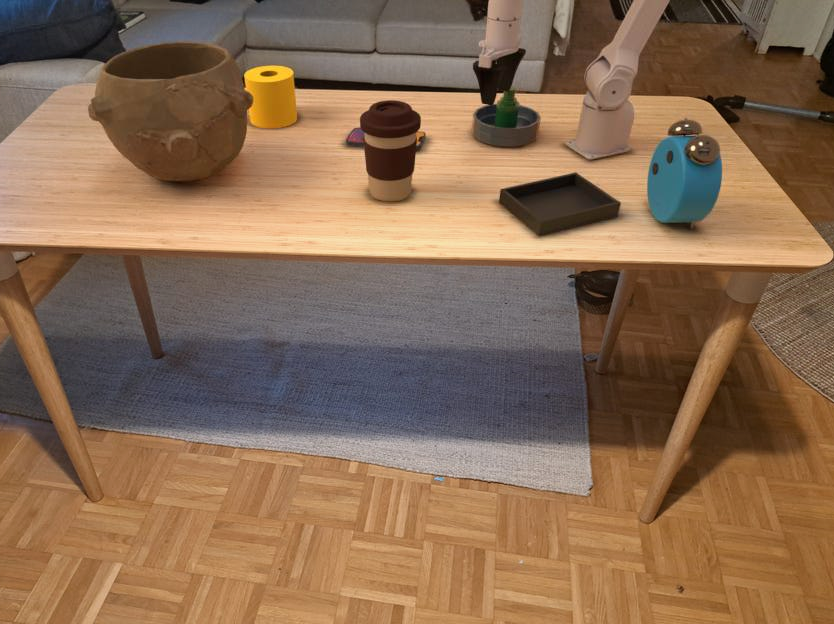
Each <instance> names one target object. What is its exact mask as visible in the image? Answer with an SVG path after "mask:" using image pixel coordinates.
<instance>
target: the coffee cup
mask: <svg viewBox="0 0 834 624" xmlns="http://www.w3.org/2000/svg"><path fill="white" fill-rule="evenodd" d="M421 122H422V117H421V115H420V113H418V111H416V110H413V108H412V106H411V105H410V104H408V103H407V102H405V101H401V100H393V99H389V100H381V101H377V102H375V103H372V104H371V105H370V106H369V108H368V110H366V111H364V112H363V113H362V114H361V115H360V117H359V128H361V130H362V131H363V132H364V136H365V137H364V147H363V149H364V161H365V170H366V173H367V179H368V190H369V194H370V195H371V196H372V197H373V198H374V199H376V200H378V201H383V202H398V201H401V200H404V199H407V197H409V195H410V194H411V192H412V183H413V174H414V172H415V166H416V156H417V150H416V146H417V137H416V132H417V131H420V129H421V126H422V123H421Z"/></svg>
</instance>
